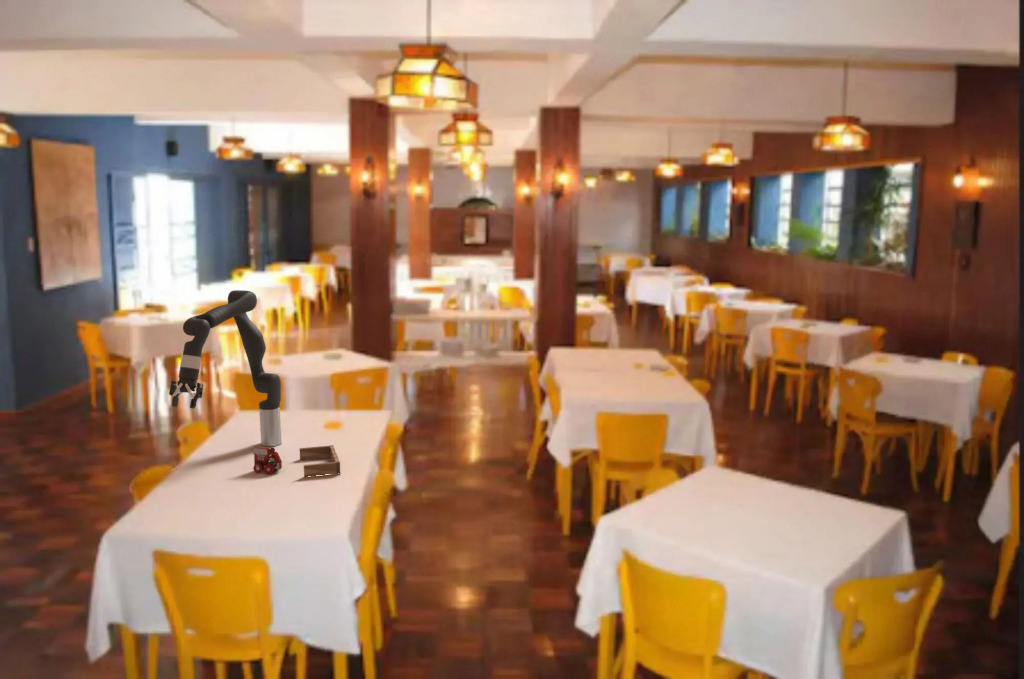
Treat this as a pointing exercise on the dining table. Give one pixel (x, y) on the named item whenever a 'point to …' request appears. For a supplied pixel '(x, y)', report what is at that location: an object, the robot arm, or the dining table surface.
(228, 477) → the dining table surface
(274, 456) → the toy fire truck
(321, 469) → the open wooden box
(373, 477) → the dining table surface
